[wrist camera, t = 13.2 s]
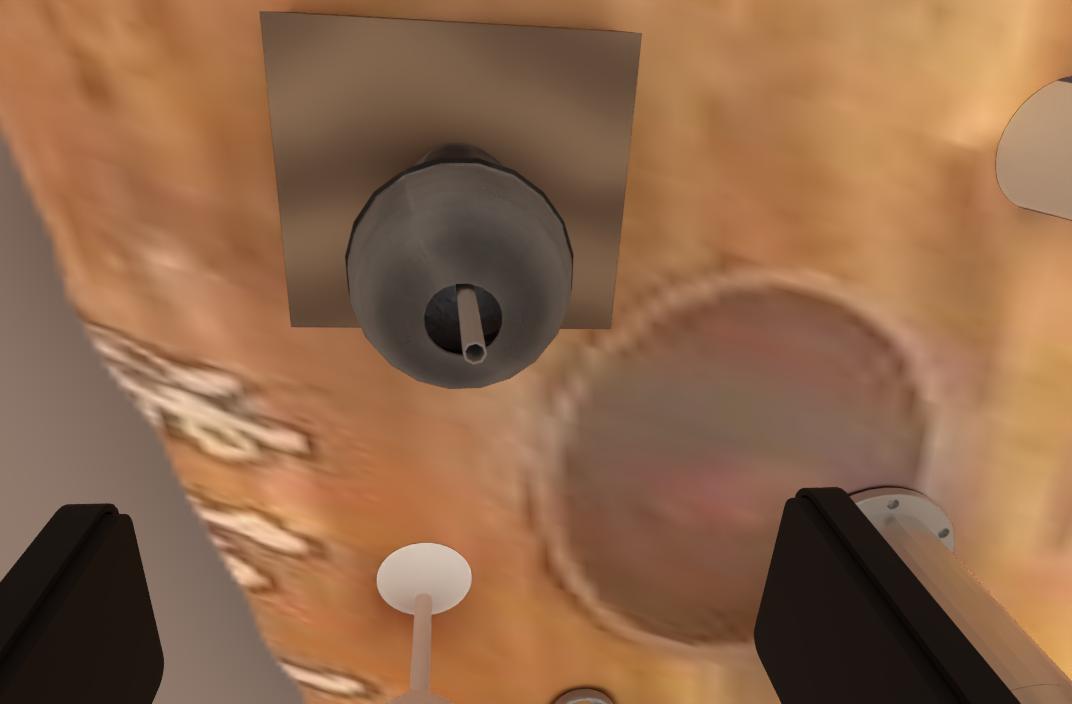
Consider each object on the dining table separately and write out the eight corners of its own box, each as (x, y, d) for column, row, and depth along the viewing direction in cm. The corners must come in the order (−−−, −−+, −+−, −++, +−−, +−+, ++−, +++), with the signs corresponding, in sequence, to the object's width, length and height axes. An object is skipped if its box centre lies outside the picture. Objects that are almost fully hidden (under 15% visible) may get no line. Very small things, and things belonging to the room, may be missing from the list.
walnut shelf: (590, 288, 42) (610, 328, 37) (312, 285, 40) (291, 327, 35) (613, 30, 36) (641, 33, 31) (289, 11, 34) (259, 11, 29)
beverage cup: (371, 256, 34) (281, 528, 16) (386, 96, 31) (295, 209, 13) (522, 276, 35) (595, 551, 17) (549, 125, 32) (673, 265, 14)
